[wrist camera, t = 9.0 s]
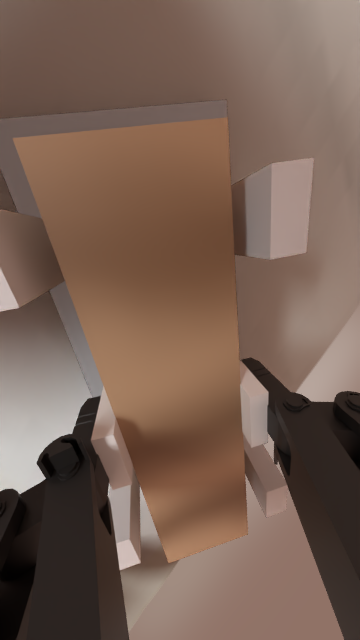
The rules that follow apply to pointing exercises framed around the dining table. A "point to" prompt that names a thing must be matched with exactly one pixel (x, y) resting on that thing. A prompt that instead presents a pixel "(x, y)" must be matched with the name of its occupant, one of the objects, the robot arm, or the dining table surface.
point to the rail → (156, 307)
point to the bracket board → (45, 275)
